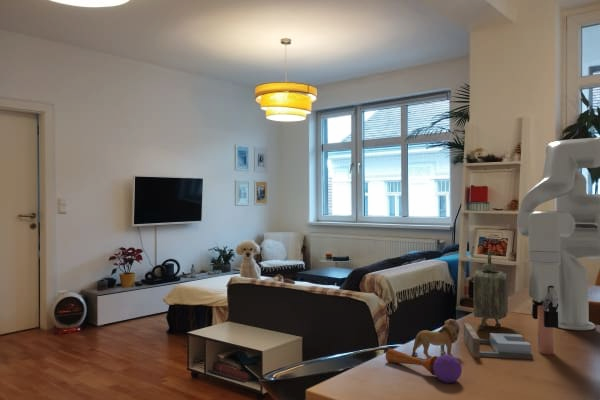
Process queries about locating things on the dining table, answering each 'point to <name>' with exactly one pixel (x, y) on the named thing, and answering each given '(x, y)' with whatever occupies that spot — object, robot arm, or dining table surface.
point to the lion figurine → (438, 338)
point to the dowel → (544, 334)
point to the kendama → (430, 364)
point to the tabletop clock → (490, 293)
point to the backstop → (475, 341)
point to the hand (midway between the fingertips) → (544, 322)
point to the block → (509, 343)
